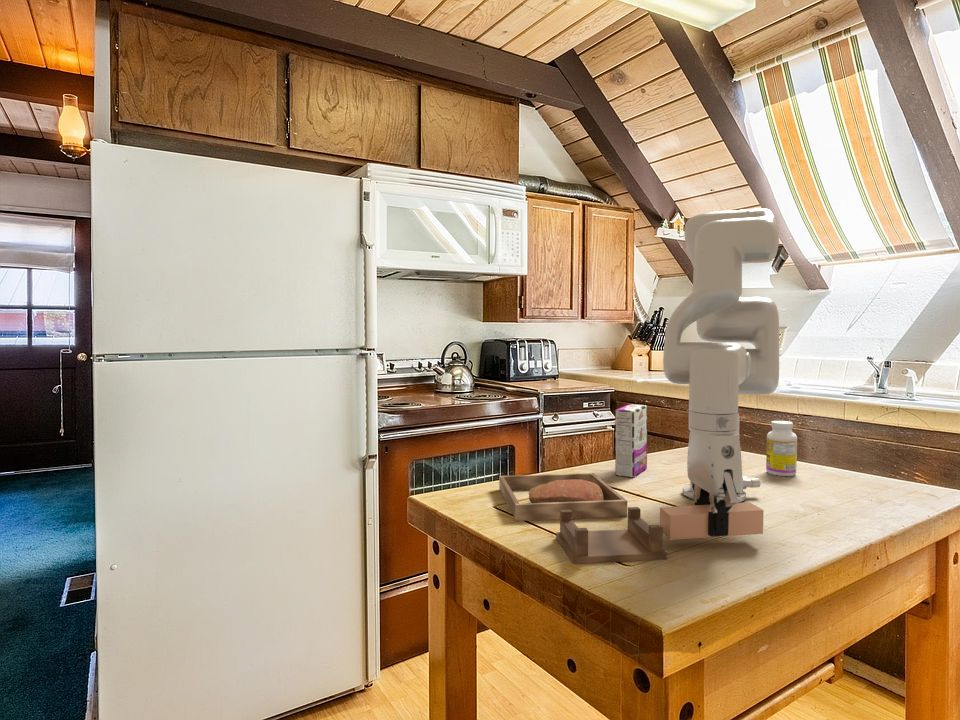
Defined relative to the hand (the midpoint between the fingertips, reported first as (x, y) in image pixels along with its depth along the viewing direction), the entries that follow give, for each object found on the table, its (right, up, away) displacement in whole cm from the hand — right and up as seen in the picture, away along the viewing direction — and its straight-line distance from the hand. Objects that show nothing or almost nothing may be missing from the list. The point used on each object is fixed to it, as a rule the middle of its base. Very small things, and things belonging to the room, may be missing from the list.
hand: (710, 529), depth 98 cm
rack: (-17, -3, -2) cm, 18 cm away
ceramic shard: (-21, -2, +23) cm, 31 cm away
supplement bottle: (+36, 0, +47) cm, 59 cm away
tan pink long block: (0, -1, 0) cm, 0 cm away
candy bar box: (-1, 0, +49) cm, 49 cm away
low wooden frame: (-22, -1, +24) cm, 33 cm away
